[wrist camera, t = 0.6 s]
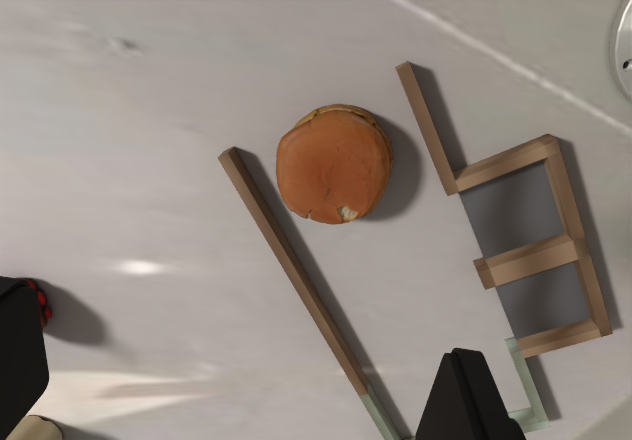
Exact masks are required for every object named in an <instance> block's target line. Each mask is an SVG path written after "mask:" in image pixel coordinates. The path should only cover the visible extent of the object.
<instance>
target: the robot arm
mask: <svg viewBox="0 0 632 440" xmlns="http://www.w3.org/2000/svg"><path fill="white" fill-rule="evenodd" d="M609 58H610V64H611V70H612V74H613V77H614V79H615V82H616V84H617V86H618V88H619V89H620V91H621V92H622V93H623V95H624V96H625V97H626V99H628V100H629V101H630V102H631V103H632V0H624V1H623V3H622V5H621V7H620V9H619V12H618V14H617V17H616V19H615V21H614V25H613V30H612V34H611V38H610V53H609ZM624 62H626V65H625V66H624V67H623V64H624ZM48 382H49V371H48V364H47V358H46V351H45V345H44V338H43V332H42V325H41V319H40V312H39V306H38V299H37V293H36V290H35V289H34V288H31V286H30V284H29V282H28V281H26V280H22V279H15V278H9V277H3V276H0V440H6V439H7V437H8V436H9V435H10V434H11V432H12V431H13V430H14V429H15V427H16V426H17V425H18V424H19V422H20V421H21V420H22V419H23V418H24V416H25V415H26V414H27V413H28V411H29V410H30V409H31V408H32V406H33V405H34V404H35V403H36V402H37V400H38V399H39V398H40V397H41V395H42V394H43V393H44V391H45V390H46V388H47V385H48ZM415 440H526V438H525V436H524V433H523V431H522V429H521V427H520V425H519V424H518V422H517V421H516V420H515V419H513V418H509V415H508V413H507V410H506V408H505V406H504V403H503V401H502V398H501V396H500V394H499V391H498V389H497V386H496V384H495V382H494V379H493V377H492V374H491V372H490V370H489V367H488V365H487V362H486V360H485V357H484V355H483V354H482V353H481V352H480V351H474V350H468V349H461V348H454V349H453V350H452V352H451V353H445V354H444V356H443V358H442V361H441V363H440V366H439V369H438V372H437V375H436V378H435V381H434V384H433V386H432V389H431V392H430V395H429V398H428V401H427V404H426V406H425V409H424V412H423V415H422V418H421V421H420V424H419V426H418V429H417V432H416V436H415Z"/></svg>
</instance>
